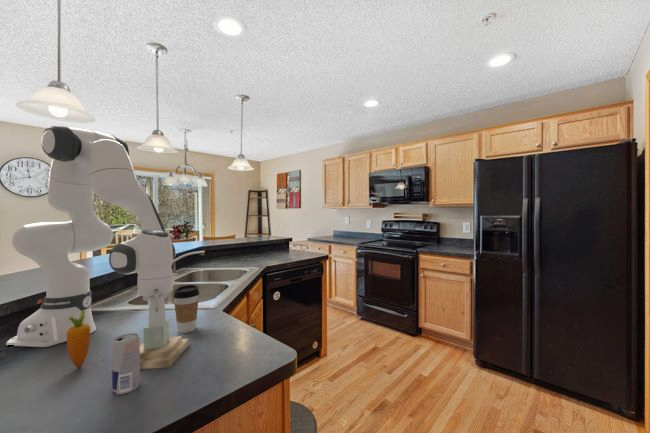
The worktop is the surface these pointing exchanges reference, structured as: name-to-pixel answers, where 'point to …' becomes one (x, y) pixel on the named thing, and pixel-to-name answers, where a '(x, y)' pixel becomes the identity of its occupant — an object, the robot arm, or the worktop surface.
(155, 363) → the stand
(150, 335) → the block
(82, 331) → the carrot
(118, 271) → the robot arm
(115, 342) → the energy drink
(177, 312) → the coffee cup
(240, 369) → the worktop surface
